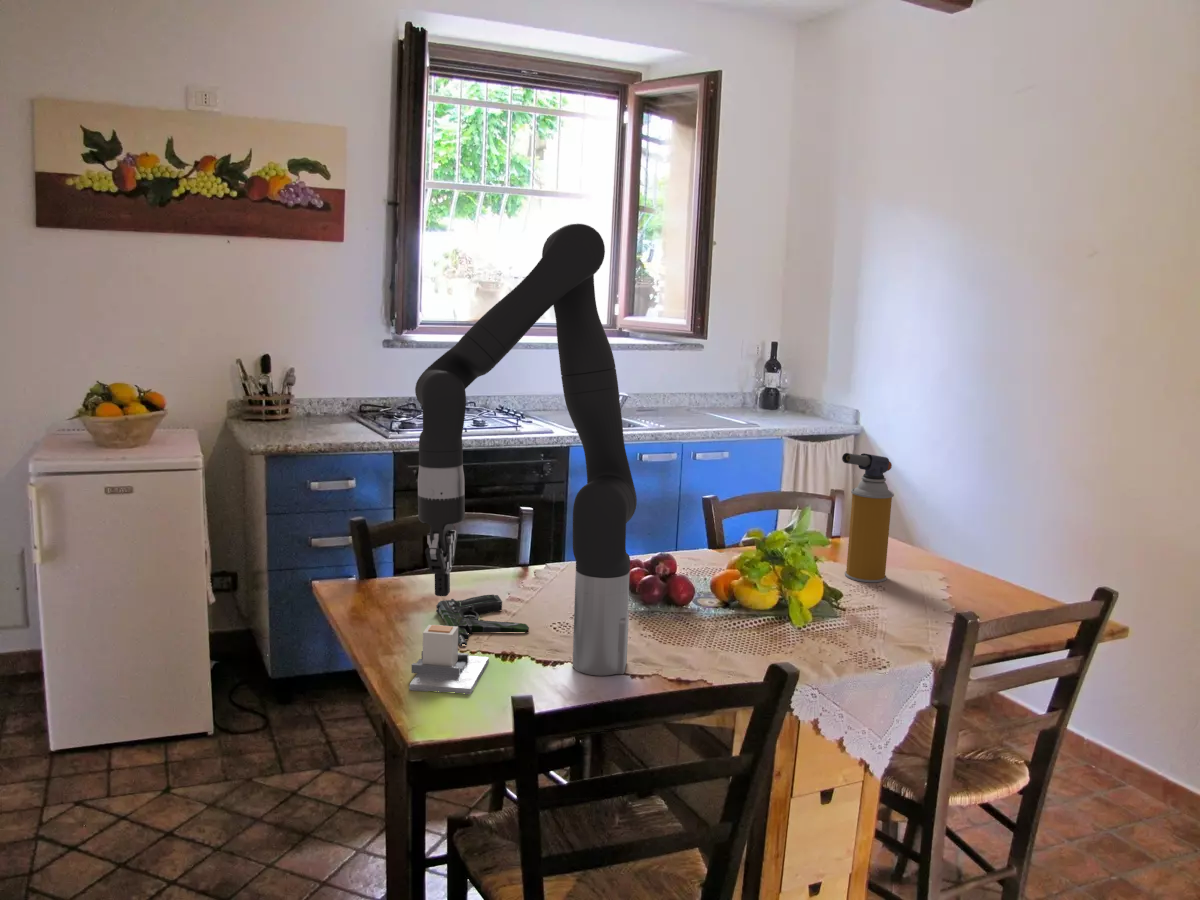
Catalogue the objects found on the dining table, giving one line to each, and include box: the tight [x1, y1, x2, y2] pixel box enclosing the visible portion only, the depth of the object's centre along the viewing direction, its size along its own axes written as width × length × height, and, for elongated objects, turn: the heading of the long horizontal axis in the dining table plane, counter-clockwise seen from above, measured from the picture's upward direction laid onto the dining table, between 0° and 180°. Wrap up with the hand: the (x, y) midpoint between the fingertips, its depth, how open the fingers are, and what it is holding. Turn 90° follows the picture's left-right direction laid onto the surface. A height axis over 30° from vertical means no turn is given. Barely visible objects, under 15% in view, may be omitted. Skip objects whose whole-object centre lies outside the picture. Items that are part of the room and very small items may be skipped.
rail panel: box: [409, 650, 490, 695], centre depth 173 cm, size 11×14×2 cm
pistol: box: [435, 594, 530, 646], centre depth 198 cm, size 3×22×15 cm
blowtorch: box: [841, 452, 895, 584], centre depth 235 cm, size 9×16×30 cm, turn 129°
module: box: [422, 624, 459, 666], centre depth 173 cm, size 5×4×6 cm
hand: (442, 594), depth 171 cm, fingers closed
